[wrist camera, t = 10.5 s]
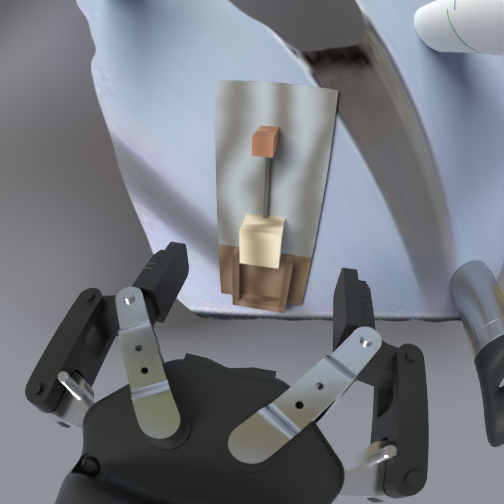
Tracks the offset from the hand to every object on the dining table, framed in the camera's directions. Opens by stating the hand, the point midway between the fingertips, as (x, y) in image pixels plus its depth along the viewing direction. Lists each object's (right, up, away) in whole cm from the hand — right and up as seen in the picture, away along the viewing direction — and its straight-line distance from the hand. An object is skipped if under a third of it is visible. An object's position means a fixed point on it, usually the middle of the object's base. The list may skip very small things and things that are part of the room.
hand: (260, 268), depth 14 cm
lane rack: (+2, +7, +30) cm, 31 cm away
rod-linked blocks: (+2, +10, +27) cm, 29 cm away
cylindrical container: (+24, +30, +7) cm, 39 cm away
